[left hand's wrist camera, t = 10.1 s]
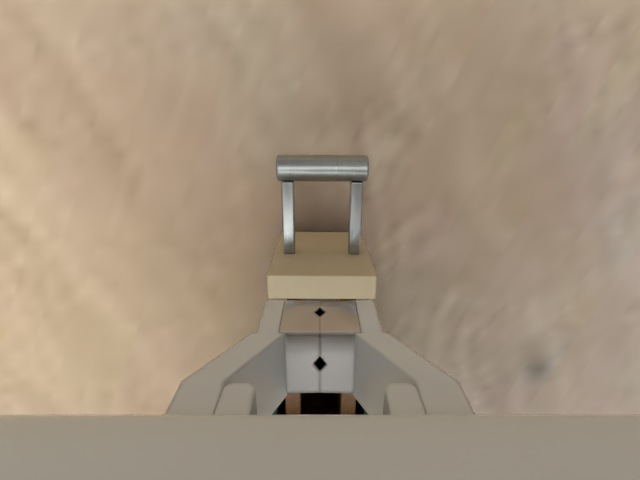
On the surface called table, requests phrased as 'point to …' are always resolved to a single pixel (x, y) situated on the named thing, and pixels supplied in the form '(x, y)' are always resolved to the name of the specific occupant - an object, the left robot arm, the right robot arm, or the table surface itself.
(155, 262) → the table surface
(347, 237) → the drawer
